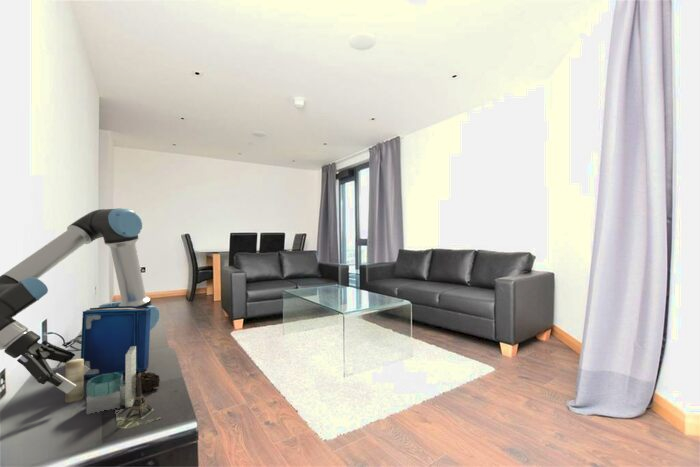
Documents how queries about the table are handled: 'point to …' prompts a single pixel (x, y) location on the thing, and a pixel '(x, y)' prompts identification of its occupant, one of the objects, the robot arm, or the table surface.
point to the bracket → (113, 387)
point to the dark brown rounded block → (148, 381)
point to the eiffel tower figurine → (136, 410)
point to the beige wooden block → (75, 379)
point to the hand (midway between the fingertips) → (79, 380)
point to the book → (114, 338)
